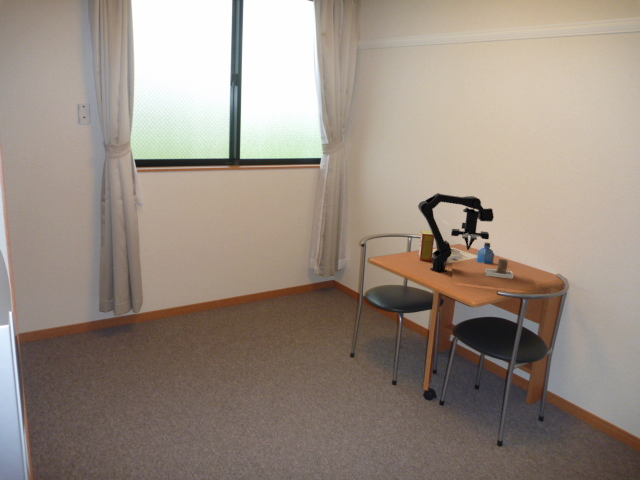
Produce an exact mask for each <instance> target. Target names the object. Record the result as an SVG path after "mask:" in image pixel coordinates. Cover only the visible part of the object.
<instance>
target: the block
mask: <svg viewBox="0 0 640 480" xmlns="http://www.w3.org/2000/svg"><path fill="white" fill-rule="evenodd" d="M507 269H508V260H507V259H503V258H502V259H501V258H499V259H498V263H497V269H496V270H497V273H501V274H506V271H508V270H507Z"/></svg>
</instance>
